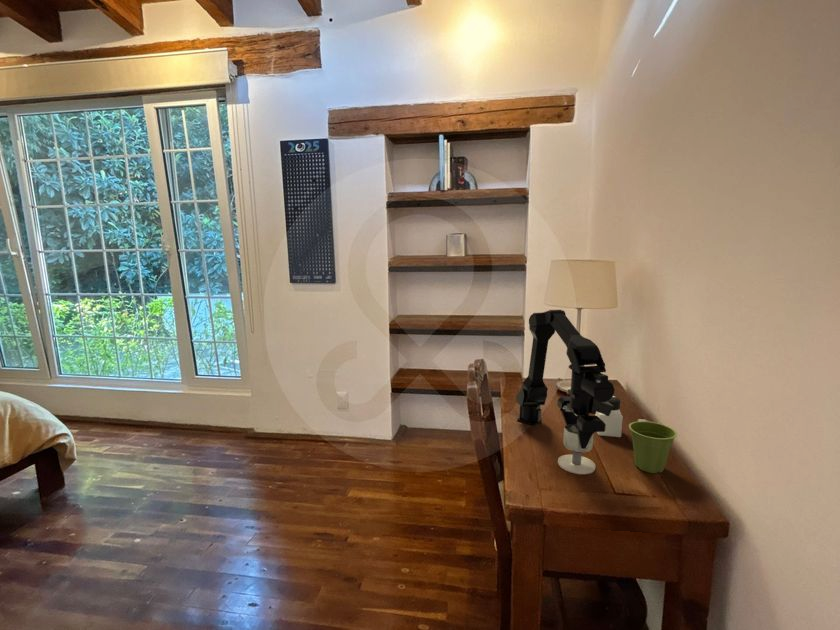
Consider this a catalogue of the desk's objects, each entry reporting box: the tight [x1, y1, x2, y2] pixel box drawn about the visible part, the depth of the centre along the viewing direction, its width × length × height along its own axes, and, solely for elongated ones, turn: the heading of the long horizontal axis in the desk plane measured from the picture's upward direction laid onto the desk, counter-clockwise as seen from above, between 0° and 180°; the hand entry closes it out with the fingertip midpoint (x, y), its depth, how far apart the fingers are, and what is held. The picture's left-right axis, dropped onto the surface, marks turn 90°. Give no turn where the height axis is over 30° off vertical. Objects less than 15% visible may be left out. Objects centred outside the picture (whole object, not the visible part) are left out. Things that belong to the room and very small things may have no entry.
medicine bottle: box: [594, 395, 624, 438], centre depth 146 cm, size 7×7×12 cm
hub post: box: [557, 450, 596, 475], centre depth 126 cm, size 10×10×5 cm
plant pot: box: [628, 420, 678, 474], centre depth 124 cm, size 12×12×11 cm
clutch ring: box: [562, 424, 595, 453], centre depth 125 cm, size 7×7×5 cm
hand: (577, 442), depth 125 cm, fingers closed on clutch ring, 7 cm apart
